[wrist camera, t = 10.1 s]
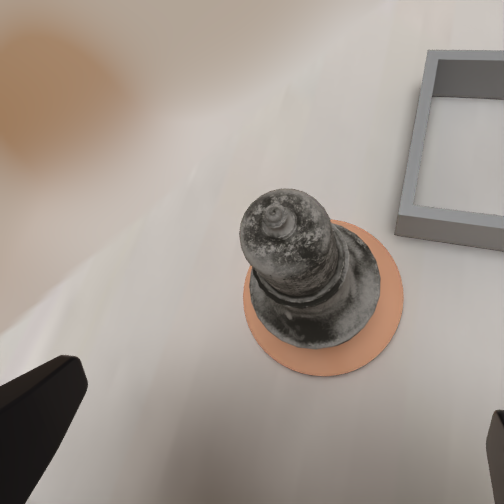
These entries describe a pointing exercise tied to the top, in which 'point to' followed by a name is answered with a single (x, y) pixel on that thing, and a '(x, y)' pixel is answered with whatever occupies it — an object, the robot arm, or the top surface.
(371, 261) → the grey tall domed piece
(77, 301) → the top surface
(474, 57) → the tub
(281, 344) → the coaster
